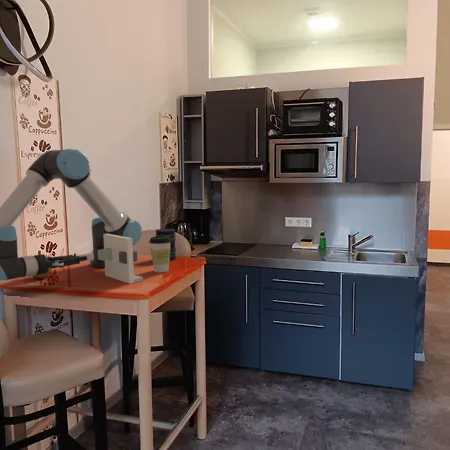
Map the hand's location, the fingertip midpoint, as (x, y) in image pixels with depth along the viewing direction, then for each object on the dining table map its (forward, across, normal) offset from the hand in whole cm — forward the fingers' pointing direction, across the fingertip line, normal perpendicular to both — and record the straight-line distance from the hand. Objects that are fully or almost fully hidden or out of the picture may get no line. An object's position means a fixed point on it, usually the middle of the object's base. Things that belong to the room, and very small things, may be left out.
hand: (92, 256), depth 192 cm
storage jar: (+47, -14, -10) cm, 50 cm away
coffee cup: (+29, +6, -10) cm, 32 cm away
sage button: (+6, 0, -2) cm, 7 cm away
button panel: (+10, +6, -10) cm, 16 cm away
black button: (+9, +12, -2) cm, 15 cm away
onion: (-14, -20, -10) cm, 27 cm away
